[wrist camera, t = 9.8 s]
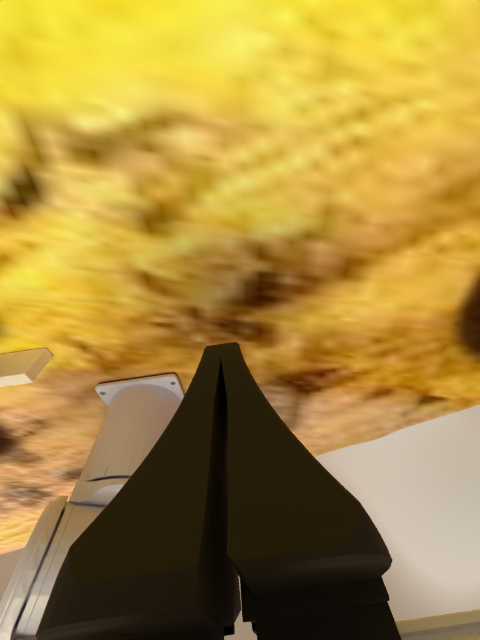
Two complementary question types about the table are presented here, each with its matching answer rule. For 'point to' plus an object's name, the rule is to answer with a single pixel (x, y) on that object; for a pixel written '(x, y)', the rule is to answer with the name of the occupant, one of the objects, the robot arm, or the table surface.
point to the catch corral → (22, 366)
